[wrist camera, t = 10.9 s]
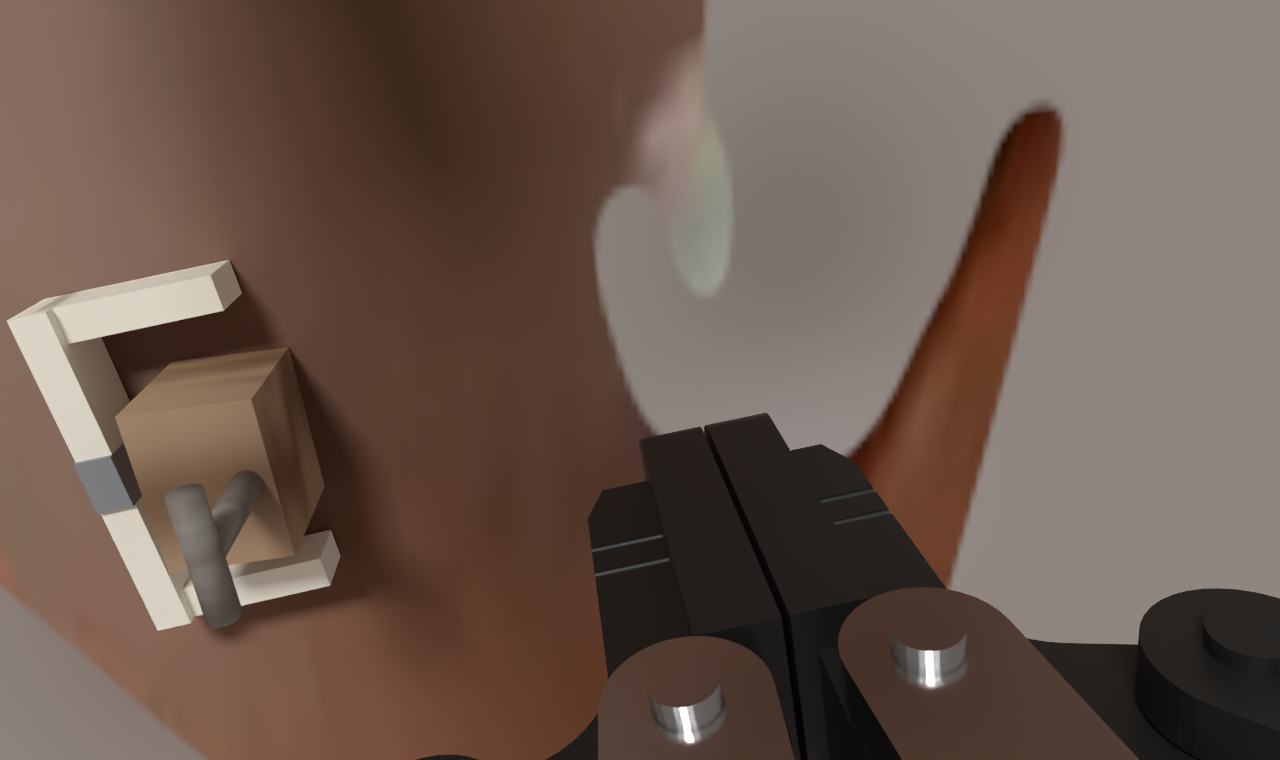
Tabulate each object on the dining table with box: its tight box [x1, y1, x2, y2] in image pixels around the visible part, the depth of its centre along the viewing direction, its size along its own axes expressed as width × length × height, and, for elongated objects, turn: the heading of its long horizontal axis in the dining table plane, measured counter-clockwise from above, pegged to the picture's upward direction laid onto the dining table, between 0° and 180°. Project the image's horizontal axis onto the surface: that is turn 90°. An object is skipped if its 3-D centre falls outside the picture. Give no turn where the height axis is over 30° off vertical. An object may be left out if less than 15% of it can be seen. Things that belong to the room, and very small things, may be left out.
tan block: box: [115, 347, 325, 628], centre depth 35 cm, size 7×5×12 cm
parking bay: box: [7, 260, 340, 631], centre depth 39 cm, size 15×8×3 cm, turn 11°
